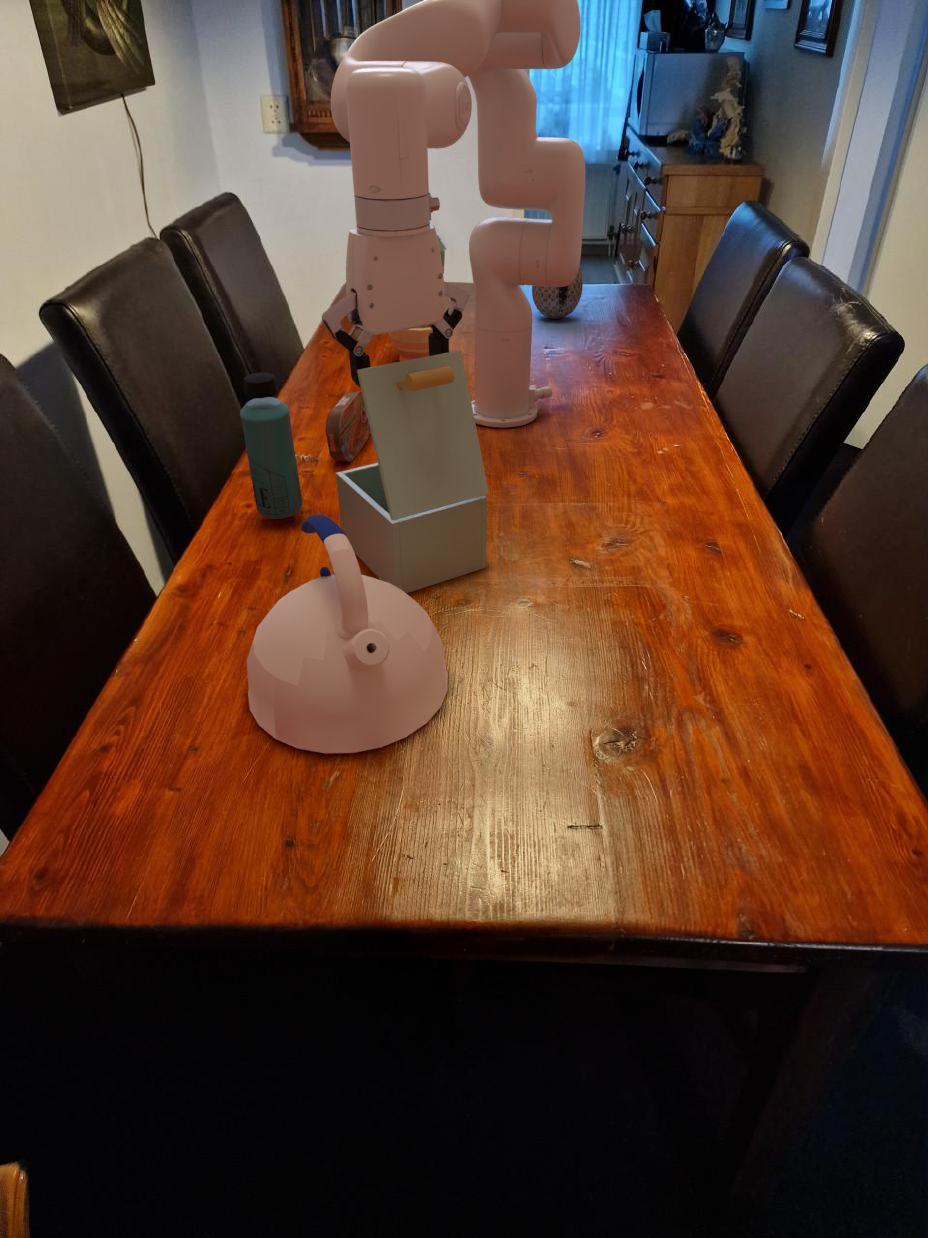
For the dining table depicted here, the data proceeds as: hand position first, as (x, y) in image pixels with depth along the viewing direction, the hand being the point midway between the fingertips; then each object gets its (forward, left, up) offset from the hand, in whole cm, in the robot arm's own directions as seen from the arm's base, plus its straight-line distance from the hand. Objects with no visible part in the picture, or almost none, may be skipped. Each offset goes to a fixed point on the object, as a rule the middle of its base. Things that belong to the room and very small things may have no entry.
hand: (401, 378), depth 93 cm
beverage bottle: (+11, -17, -23) cm, 30 cm away
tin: (-7, -33, -23) cm, 40 cm away
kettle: (+18, +21, -23) cm, 36 cm away
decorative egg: (-81, -78, -23) cm, 114 cm away
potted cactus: (-39, -68, -23) cm, 81 cm away
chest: (0, +1, -22) cm, 22 cm away
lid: (0, +6, -5) cm, 7 cm away
